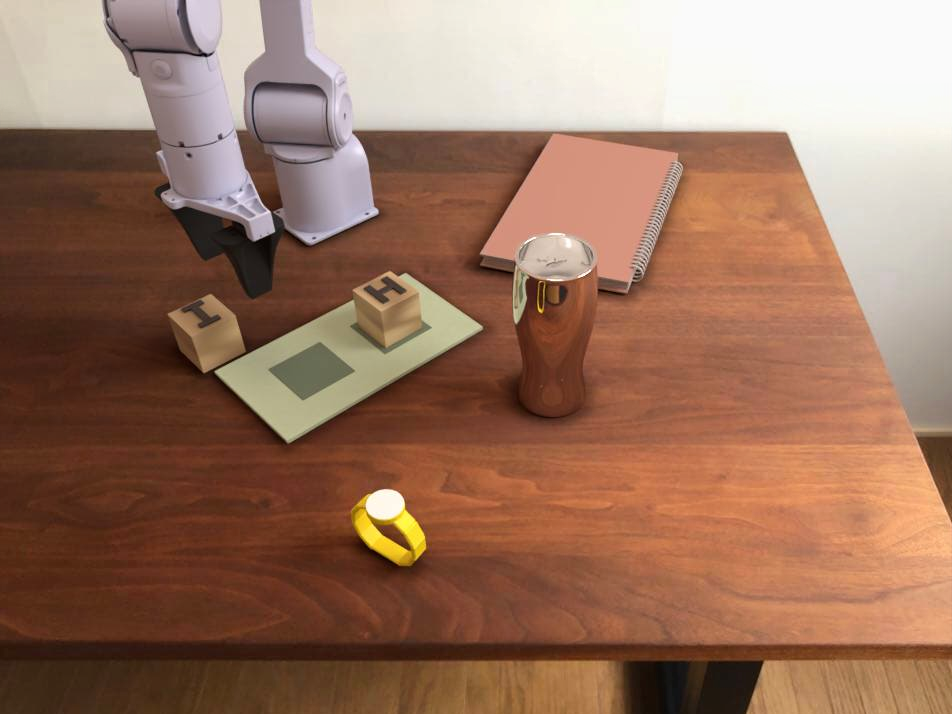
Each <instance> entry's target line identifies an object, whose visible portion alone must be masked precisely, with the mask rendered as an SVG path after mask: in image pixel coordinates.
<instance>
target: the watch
mask: <svg viewBox="0 0 952 714" xmlns="http://www.w3.org/2000/svg"><path fill="white" fill-rule="evenodd" d="M350 521H351V524H352V526H353V528H354V530H355V532H356V534H357V535H358V537H359V538H360V539H361V540H362V542H364V544H365V546H367V547H368V548H369V549H370V551H372V550H373V551H374V552H375V553H377V554H379V555H381V556H383V557H384V558H386V559H388V560H389V561H391V562H392V563H394V564H396V565H397V566H398V567H411V566H413V564H414V563H415V562H416V561H418V559H419V557H421V555H422V554H423V553H424V552H425V551H426V550H427V543H426V536H425V533H424V531H423V530H422V528H421V527H420V525H419V523H418V521H416V519H415V518H414V517H413V516H412V515H411V514H410V513H409V512H408V510H406V502H405V499H404V497H403V496H402V494H401V493H399V491H397V490H394V489H390V488H389V489H388V488H383V489H379V490H376V491H375V492H373V493H368V494H366V495H365V496H363V497H362V498H361V499H360V500H359V502H357V503H356V504H355V505H354V506H353V508H351V510H350ZM374 524H376V525H379V526H389V525H393V526H394V527H395V528H396V530H397V531H399V532H400V533H401V534H402V536H403V537H404V539H405V541H406V542H407V544H408V546H409V548H410V550H409V549H406V548H404V547H403V546H401V544H400V545H399V544H398V543H396V542H394V541H393V540H391V539H390V538H388V537H386V536H384V535H383V534H382V533H381V532H380V531H379V530H378V529H377V527H376V526H375V525H374Z"/></svg>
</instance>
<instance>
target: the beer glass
mask: <svg viewBox="0 0 952 714" xmlns="http://www.w3.org/2000/svg"><path fill="white" fill-rule="evenodd" d="M597 261H598V255H597V252H596V250H595V248H594V247H593V246H592V245H591V244H590V243H589V242H588V241H586V240H585V239H583V238H581V237H578V236H576V235H572V234H568V233H560V232H549V233H542V234H537V235H534V236H532V237H529V238H527V239H526V240H524V241H523V242H521V243H520V244H519V245H518V247H517V248H516V250H515V253H514V270H513V272H512V280H511V281H512V283H511V286H512V287H511V307H512V316H513V323H514V330H515V333H516V337H517V343H518V346H519V351H520V355H521V360H522V361H521V364H522V365H521V366H522V367H521V373H520V378H519V382H518V388H517V397H518V400H519V402H520V404H521V405H522V406H523V408H525V409H526V410H527V411H529V412H530V413H533V414H535V415H537V416H540V417H545V418H560V417H565V416H568V415H570V414H572V413H575V412H576V411H577V410H578V409H579V408H581V407H582V406H583V404H584V402H585V401H586V396H587V390H586V383H585V378H584V361H585V357H586V352H587V349H588V346H589V343H590V339H591V336H592V332H593V330H594V325H595V320H596V316H597V309H598V301H599V300H598V299H599V298H598V297H599V289H598V268H597Z"/></svg>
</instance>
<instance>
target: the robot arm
mask: <svg viewBox="0 0 952 714" xmlns="http://www.w3.org/2000/svg"><path fill="white" fill-rule="evenodd" d="M258 2H259V9H260V18H261V19H260V20H261V26H262V27H261V28H262V35H263V45H264V52H263V53H261V54H260V55H259V56H258V57H256V58H255V59H254V60H253V61H251V63H250V64H249V65H248V66H247V67H246V69H245V71H244V74H243V83H244V85H243V86H244V98H243V106H242V109H243V119H244V124H245V129H246V130H247V133H248V134H249V136H250V137H251V139H252V140H253V141H254V142H255V143H256V144H258V145H262V146H263V151H264V154H265V155H271V159H272V163H273V168H274V173H275V176H276V181H277V186H278V190H279V195H280V200H281V204H282V207H281V208H278V209H276V210H273V211H272V212H271V211H270V210H269V209H268V208H267V207H266V206H265V205H264V203H263V202H262V200H261V198H260V195H259V192H258V191H257V189H256V187H255V184H254V182H253V179H252V176H251V175H250V172H249V171H248V170H247V169H246V165H245V162H244V157H243V154H242V150H241V146H240V141H239V138H238V134H237V130H236V125H235V121H234V117H233V113H232V108H231V104H230V100H229V97H228V93H227V88H226V85H225V80H224V76H223V72H222V69H221V68H222V67H221V64H220V60H219V56H218V52H217V48H218V46H219V43H220V40H221V37H222V34H223V8H222V0H101V6H102V13H103V17H104V18H103V20H102V21H103V23H102V24H103V26H104V28H105V30H106V33H107V35H108V37H109V39H110V40H111V42H112V43H113V45H114V46H115V47H116V48H117V49H119V51H120V52H121V54H122V55H123V57H124V60H125V62H126V66H127V68H128V71H129V72H130V73H131V75H132V76H134V77H136V78H139V80H140V84H141V87H142V90H143V93H144V96H145V99H146V102H147V106H148V109H149V112H150V115H151V119H152V122H153V126H154V128H155V131H156V134H157V138H158V140H159V144H160V147H161V150H158V151H156V152H155V155H156V159H157V162H158V164H159V167H160V171H161V173H162V174H163V175H165V176H166V177H167V182H166V183H163V184H161V185H159V186H157V187H156V188H155V189H154V191H153V192H154V193H153V194H154V196H155V197H156V198H157V199H159V201H161V203H163V204H164V205H165V206H166V208H167V209H168V210H169V211H170V212H171V213H172V214H173V216H174V218H175V219H176V220H177V221H178V223H179V224H180V226H181V227H182V229H183V230H184V232H185V234H186V236H187V238H188V239H189V241H190V243H191V244H192V246H193V248H194V249H195V251H196V252H197V254H198V255H199V257H200V258H201V259H202V261H204V262H207V261H210V260H212V259H214V258H216V257H218V256H221V255H223V254H225V256H226V258H227V259H228V260H229V263H230V264H231V266H232V268H233V270H234V272H235V275H236V276H237V277H236V278H237V279H238V282H239V284H240V286H241V288H242V290H243V291H244V293H245V295H246V296H247V297H248V298H249V299H251V300H254V299H257V298H259V297H261V296H262V295H264V294H266V293H269V292H271V291H272V290H273V283H274V266H275V259H276V252H277V248H278V245H279V242H280V239H281V238H282V236H283V234H284V232H285V230H286V231H288V232H289V233H290V234H291V235H293V236H294V237H295V238H297V239H298V240H300V242H302V243H304V244H305V245H306V246H314V245H316V244H317V243H320V242H322V241H325V240H326V239H329V238H330V237H333V236H335V235H338V234H339V233H341V232H344V231H345V230H348V229H350V228H352V227H355V226H356V225H358V224H361V223H363V222H365V221H367V220H369V219H371V218H373V217H377V216H378V215H379V213H380V212H379V209H378V208H376V207H375V202H374V196H373V187H372V180H371V173H370V166H369V160H368V157H367V154H366V152H365V149H364V147H363V145H362V143H361V142H360V140H359V139H358V137H357V136H356V135H355V134H354V133H353V128H354V109H353V102H352V97H351V94H350V92H349V86H348V78H347V75H346V71H345V69H344V68H343V67H342V66H341V65H340V64H339V63H337V62H336V61H335V60H333V59H332V58H331V57H329V56H328V55H327V54H326V53H324V52H322V51H321V50H320V49H319V48H318V47H317V46H316V45H317V44H316V35H315V24H314V14H313V13H314V12H313V2H312V0H258ZM223 219H227V220H230V221H231V224H232V225H228V226H226V227H224V223H223Z"/></svg>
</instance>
